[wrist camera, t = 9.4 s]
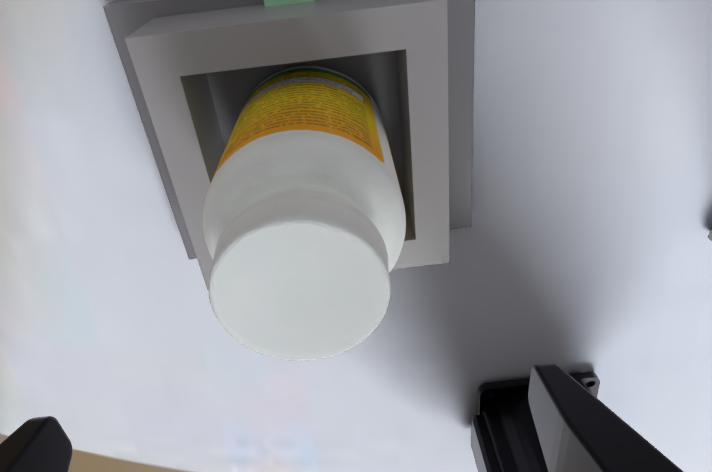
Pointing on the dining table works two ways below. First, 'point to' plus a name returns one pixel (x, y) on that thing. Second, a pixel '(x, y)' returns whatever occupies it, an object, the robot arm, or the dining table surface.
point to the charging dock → (307, 48)
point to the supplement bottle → (304, 217)
